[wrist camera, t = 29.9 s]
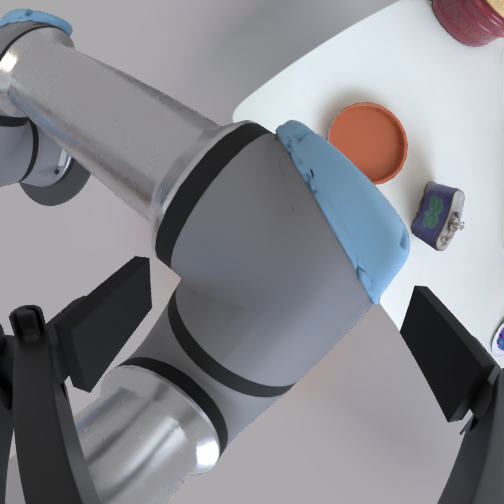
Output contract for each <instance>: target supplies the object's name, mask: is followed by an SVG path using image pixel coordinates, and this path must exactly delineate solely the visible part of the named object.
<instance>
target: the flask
mask: <svg viewBox="0 0 504 504" xmlns="http://www.w3.org/2000/svg"><path fill="white" fill-rule="evenodd" d="M464 200H465V196H464V193H463V192H462V191H461V190H459V189H457V188H451V187H447V186H444V185H440V184H437V183H434V182H430V183H428V184H427V186H426V187H425V189H424V195H423V198H422V200H421V202H420V205H419V211H418V213H417V216H416V218H415V220H414V222H413V224H412V226H411V230H412V233H413V234H414V235H415V236H416V237H418V238H419V239H421V240H422V241H424V242H425V243H427V244H428V245H430V246H431V247H432V248H434V249H435V250H437V251H443V250H445V249H446V248H447V246H448V244H449V242H450V241H451V239H452V238H453V236H454V234H455V232H456V231H457V229H459V228H460V226H461V221H460V218H461V215H462V210H463V205H464ZM463 224H464V222H463ZM463 228H464V225H463V226H462V227H461V229H460V231H462V230H463Z"/></svg>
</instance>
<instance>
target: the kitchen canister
mask: <svg viewBox="0 0 504 504" xmlns="http://www.w3.org/2000/svg"><path fill="white" fill-rule="evenodd" d="M432 5H433V9H434V12H435V14H436V16H437V18H438V20H439V22H440V23H441V24H442V26H443V27H444V28H445V29H446V30H447V32H448V33H449V34H451V35H452V36H453V37H454V38H455V39H457V40H458V41H460V42H461V43H463V44H466V45H468V46H474V47H475V46H483V45H486V44H488V43H489V42H490V41H493V40H495V39H498V38H500V37H504V0H432Z"/></svg>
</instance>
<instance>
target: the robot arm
mask: <svg viewBox="0 0 504 504" xmlns="http://www.w3.org/2000/svg"><path fill="white" fill-rule="evenodd" d="M71 33H72V26H71V25H70V24H69V23H68V22H67V21H65V20H63V19H61V18H59V17H57V16H54V15H51V14H48V13H45V12H41V11H33V10H30V9H14V10H11V11H9V12H8V13H6V14H5V15H4V16H3V17H2V19H1V20H0V187H1V186H6V185H9V184H13V183H18V182H22V183H26V184H30V185H33V186H38V187H46V186H51V185H54V184H56V183H58V182H60V181H61V180H62V179H63V178H64V177H65V176H66V175H67V174H68V172H69V171H70V169H71V167H72V165H73V162H74V160H76V161H77V162H78V163H79V164H81V165H82V166H83V167H84V168H85V169H86V170H87V171H89V172H90V173H91V174H92V175H93V176H94V177H96V178H97V179H98V180H99V181H100V182H102V183H103V184H104V185H105V186H106V187H107V188H108V189H110V190H111V191H112V192H113V193H114V194H116V195H117V196H118V197H119V198H120V199H121V200H123V201H124V202H125V203H126V204H127V205H129V206H130V207H131V208H132V209H134V210H135V211H136V212H137V213H138V214H139V215H141V216H142V217H143V218H144V219H146V220H147V221H148V222H149V223H150V225H151V245H152V251H153V253H154V255H155V256H156V257H157V258H158V259H160V260H161V261H162V262H163V263H164V264H166V265H167V266H168V267H169V268H170V269H172V270H173V271H174V272H175V273H176V274H178V275H179V276H180V277H181V280H180V282H179V284H178V286H177V287H176V289H175V291H174V292H173V294H172V296H171V298H170V300H169V302H168V304H167V305H166V307H165V309H164V311H163V312H162V314H161V316H160V317H159V319H158V321H157V322H156V324H155V325H154V327H153V328H152V329H151V331H150V333H149V334H148V335H147V337H146V338H145V340H144V341H143V343H142V344H141V345H140V346H139V347H138V348H137V350H136V351H135V352H134V353H133V354H132V355H131V356H130V357H129V358H128V359H127V360H126V361H124V362H123V363H121V364H120V365H118V366H117V367H115V368H114V369H113V370H111V371H109V372H108V373H107V374H106V375H105V377H104V378H103V381H102V384H101V396H100V397H99V398H98V399H96V400H95V401H93V402H92V403H91V404H89V405H88V406H87V407H85V408H84V409H82V410H81V411H79V412H78V413H76V414H75V415H74V416H73V415H72V410H71V406H70V402H69V397H68V392H67V387H66V385H65V382H64V381H65V380H66V379H67V377H68V376H70V378H71V381H72V384H73V386H74V387H76V388H78V389H81V390H84V391H86V392H89V393H90V392H91V391H92V389H93V388H94V386H95V385H96V384H97V382H98V381H99V379H100V378H101V377H102V375H103V374H104V372H105V371H106V369H107V368H108V367H109V365H110V364H111V362H112V361H113V360H114V358H115V357H116V356H117V354H118V353H119V351H120V350H121V348H122V347H123V346H124V344H125V343H126V342H127V340H128V339H129V338H130V336H131V335H132V334H133V332H134V331H135V330H136V328H137V327H138V326H139V324H140V323H141V321H142V320H143V319H144V318H145V316H146V315H147V314H148V312H149V311H150V310H151V308H152V302H151V301H152V300H151V284H150V264H149V258H146V257H138V256H135V257H134V258H133V259H131V260H130V261H129V262H127V263H126V264H125V265H124V266H122V267H121V268H120V269H119V270H118V271H116V272H115V273H114V274H113V275H111V276H110V277H109V278H108V279H107V280H105V281H104V282H103V283H102V284H100V285H99V286H98V287H97V288H96V289H94V290H93V291H92V292H91V293H90V294H89V295H87V296H82V297H81V298H78V299H76V300H74V301H72V302H71V303H70V304H69V305H68V306H67V307H66V308H64V309H63V310H62V311H61V313H58V314H57V315H56V316H55V317H54V318H52V319H51V320H50V321H49V322H48V323H47V324H46V323H45V320H44V316H43V312H42V309H41V308H40V307H39V306H36V305H25V306H21V307H19V308H17V309H15V310H14V311H12V312H11V314H10V316H9V319H10V322H11V326H12V329H13V332H14V335H15V336H12V335H5V334H4V331H3V328H2V325H1V324H0V504H167V503H168V502H169V500H170V499H171V498H172V497H173V495H174V494H175V493H176V491H177V490H178V489H179V487H180V486H181V485H182V483H183V482H184V481H185V479H186V478H187V477H188V475H198V474H202V473H205V472H207V471H209V470H211V469H212V468H213V467H214V465H215V464H216V462H217V461H218V459H219V457H220V456H221V454H222V453H223V451H224V450H225V449H226V447H227V446H228V444H229V443H230V442H231V441H232V440H233V439H234V438H235V437H236V436H237V435H238V434H239V433H240V432H241V431H242V430H244V429H245V428H246V427H247V426H248V425H249V424H250V423H251V422H253V421H254V420H255V419H256V418H257V417H258V416H259V415H260V414H261V413H262V412H263V411H265V410H266V409H267V408H268V407H270V406H271V405H272V404H273V403H274V402H276V401H277V400H278V399H279V398H281V397H282V396H283V395H284V394H285V393H286V392H287V391H289V389H291V387H292V386H293V385H294V384H295V383H296V382H298V381H299V380H300V379H301V378H302V377H303V376H304V375H305V374H306V373H307V372H308V371H310V370H311V369H312V368H313V367H314V366H315V365H316V364H317V363H318V362H319V361H320V360H321V359H322V358H323V357H324V356H325V355H326V354H327V353H328V352H329V351H330V350H331V349H332V348H333V347H334V346H335V345H336V344H337V343H338V342H339V341H340V340H341V339H342V338H343V337H344V336H345V335H346V334H347V333H348V332H349V331H350V329H352V327H353V326H354V325H355V324H356V323H357V322H358V321H359V320H360V318H362V317H363V315H364V314H365V313H366V312H367V311H368V310H369V309H370V308H371V307H372V306H373V304H375V305H377V303H379V300H380V296H381V294H382V293H383V292H384V290H385V289H386V288H387V286H388V285H389V284H390V282H391V281H392V279H393V278H394V277H395V275H396V274H397V273H398V271H399V270H400V269H401V267H402V266H403V264H404V263H405V261H406V259H407V257H408V254H409V250H410V239H409V234H408V231H407V229H406V227H405V225H404V223H403V221H402V220H401V218H400V216H399V215H398V213H397V212H396V211H395V209H394V208H393V206H392V205H391V204H390V203H389V201H388V200H387V199H386V198H385V197H384V195H383V194H382V193H381V192H380V191H379V190H378V188H377V187H376V186H375V185H374V184H373V183H372V182H371V181H370V180H369V179H368V178H367V177H366V176H365V174H364V173H362V172H361V171H360V170H359V169H358V168H357V167H356V166H355V165H354V164H353V163H352V162H351V161H350V160H349V159H348V158H347V157H346V156H345V155H344V154H342V153H341V152H340V151H339V150H338V149H337V148H336V147H334V146H333V145H332V144H331V143H330V142H328V141H327V140H326V139H324V138H323V137H322V136H320V135H318V134H316V133H314V132H313V131H312V130H311V129H309V128H308V127H307V126H305V125H304V124H302V123H301V122H298V121H295V120H290V121H287V122H286V123H285V124H283V125H280V126H279V127H278V128H277V129H276V134H273V133H272V132H270V131H269V130H267V129H265V128H264V127H262V126H261V125H259V124H257V123H256V122H254V121H250V120H244V121H240V122H237V123H233V124H229V125H226V126H219V125H218V124H216V123H214V122H213V121H211V120H209V119H208V118H206V117H204V116H203V115H201V114H199V113H198V112H196V111H194V110H193V109H191V108H189V107H187V106H186V105H184V104H182V103H180V102H179V101H177V100H175V99H173V98H171V97H170V96H168V95H166V94H164V93H162V92H160V91H159V90H157V89H155V88H153V87H151V86H149V85H147V84H145V83H143V82H142V81H140V80H138V79H136V78H134V77H132V76H130V75H128V74H126V73H124V72H122V71H120V70H117V69H115V68H114V67H111V66H109V65H107V64H105V63H103V62H101V61H99V60H97V59H94V58H92V57H90V56H88V55H85V54H83V53H81V52H79V51H76V50H75V47H74V44H73V42H72V40H71V38H70V35H71ZM400 334H401V335H402V337H403V339H404V340H405V342H406V344H407V346H408V348H409V349H410V351H411V353H412V355H413V356H414V358H415V360H416V362H417V363H418V365H419V367H420V369H421V371H422V373H423V374H424V376H425V378H426V380H427V382H428V384H429V386H430V388H431V390H432V391H433V393H434V395H435V397H436V399H437V401H438V403H439V405H440V407H441V409H442V411H443V413H444V415H445V417H446V419H447V421H448V422H453V421H458V420H462V419H463V418H464V416H465V415H466V413H467V412H468V410H469V409H470V410H471V411H472V413H473V415H472V417H471V418H470V419H469V421H468V422H467V424H466V425H465V426H464V428H463V429H462V430H461V432H460V435H461V434H462V433H463V432H464V431H465V435H464V438H463V441H462V444H461V447H460V450H459V453H458V456H457V458H456V461H455V464H454V466H453V469H452V471H451V474H450V477H449V479H448V481H447V483H446V486H445V488H444V490H443V492H442V495H441V497H440V499H439V501H438V503H437V504H504V368H503V369H501V368H500V366H499V365H498V364H497V363H496V361H495V360H494V359H493V358H492V356H491V355H490V354H489V353H487V350H486V349H485V348H484V347H483V346H482V344H481V343H480V342H479V341H478V340H477V339H476V338H475V337H473V336H472V335H471V334H470V333H469V332H468V331H467V330H466V328H465V327H464V326H463V325H462V324H461V323H460V322H459V321H458V319H457V318H456V317H455V316H454V315H453V314H452V313H451V312H450V311H449V310H448V308H447V307H446V306H445V305H444V304H443V303H442V302H441V301H440V300H439V299H438V298H437V297H436V296H435V295H434V294H433V293H432V291H431V290H430V289H429V288H428V287H425V286H414V290H413V293H412V296H411V300H410V303H409V306H408V309H407V312H406V315H405V318H404V321H403V324H402V327H401V330H400ZM13 430H14V432H15V444H16V452H17V454H16V455H15V456H13V457H12V458H10V459H9V454H10V447H11V441H12V435H13Z"/></svg>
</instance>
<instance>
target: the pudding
mask: <svg viewBox="0 0 504 504" xmlns="http://www.w3.org/2000/svg"><path fill="white" fill-rule="evenodd" d="M492 353H493V354H494V355H495V356H503V355H504V323H503V324H502V325H501V327H500V328H499V329H498V331H497V333H496V335H495V337H494V339H493V343H492Z"/></svg>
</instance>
